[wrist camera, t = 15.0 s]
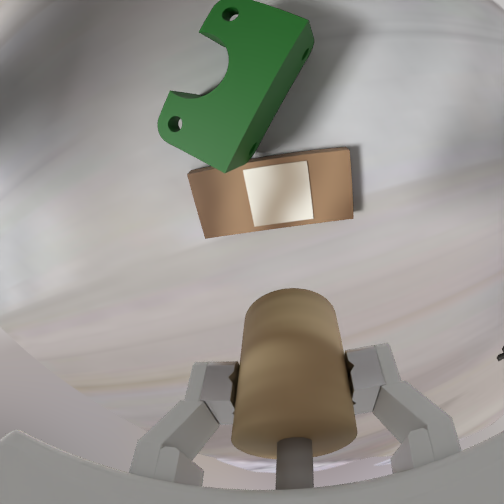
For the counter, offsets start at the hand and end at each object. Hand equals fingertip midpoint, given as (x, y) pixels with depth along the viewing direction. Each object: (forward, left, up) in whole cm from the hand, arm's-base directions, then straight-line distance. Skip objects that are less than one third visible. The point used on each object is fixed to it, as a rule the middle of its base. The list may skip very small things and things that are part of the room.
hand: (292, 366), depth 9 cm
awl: (0, 0, -2) cm, 2 cm away
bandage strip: (-1, 0, -17) cm, 17 cm away
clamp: (-2, +10, -18) cm, 20 cm away
